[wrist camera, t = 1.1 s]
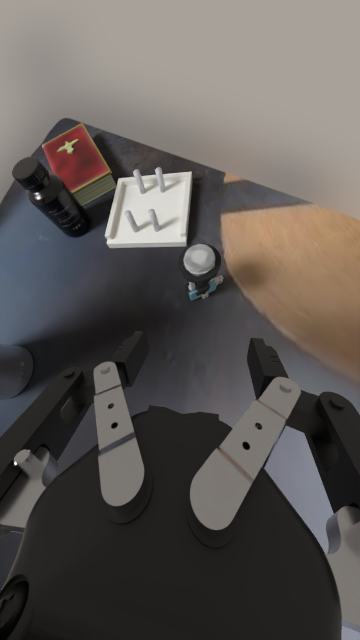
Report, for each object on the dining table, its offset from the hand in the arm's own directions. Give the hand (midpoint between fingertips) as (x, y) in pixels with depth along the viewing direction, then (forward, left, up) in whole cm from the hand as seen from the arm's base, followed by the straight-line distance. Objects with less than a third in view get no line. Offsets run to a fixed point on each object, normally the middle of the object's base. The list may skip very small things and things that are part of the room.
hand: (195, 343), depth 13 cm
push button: (0, +11, -15) cm, 19 cm away
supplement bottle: (-29, +26, -15) cm, 42 cm away
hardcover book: (-32, +43, -15) cm, 55 cm away
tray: (-12, +28, -15) cm, 34 cm away
